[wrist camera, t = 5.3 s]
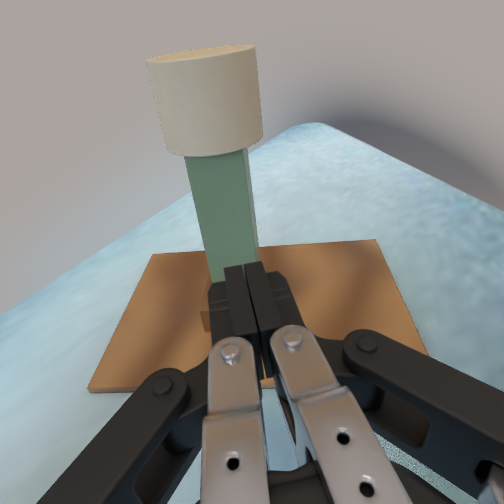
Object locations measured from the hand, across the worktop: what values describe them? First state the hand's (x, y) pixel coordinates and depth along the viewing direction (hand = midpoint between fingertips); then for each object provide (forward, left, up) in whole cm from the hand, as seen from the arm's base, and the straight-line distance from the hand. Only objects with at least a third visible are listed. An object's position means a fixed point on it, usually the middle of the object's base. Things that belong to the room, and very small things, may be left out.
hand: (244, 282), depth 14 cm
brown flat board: (-1, +9, -9) cm, 13 cm away
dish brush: (-2, +8, -9) cm, 12 cm away
